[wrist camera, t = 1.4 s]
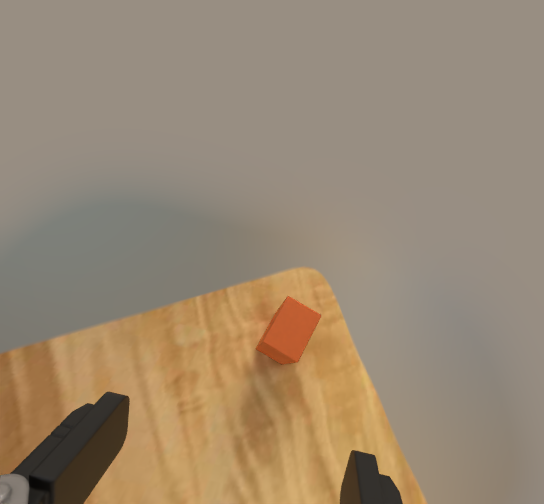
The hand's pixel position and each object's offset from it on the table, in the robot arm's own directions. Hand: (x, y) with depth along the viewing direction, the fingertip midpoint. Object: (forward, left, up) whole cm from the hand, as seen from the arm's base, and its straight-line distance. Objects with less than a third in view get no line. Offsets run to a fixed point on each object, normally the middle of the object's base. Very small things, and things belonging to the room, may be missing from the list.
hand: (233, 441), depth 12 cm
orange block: (+6, +4, -22) cm, 23 cm away
